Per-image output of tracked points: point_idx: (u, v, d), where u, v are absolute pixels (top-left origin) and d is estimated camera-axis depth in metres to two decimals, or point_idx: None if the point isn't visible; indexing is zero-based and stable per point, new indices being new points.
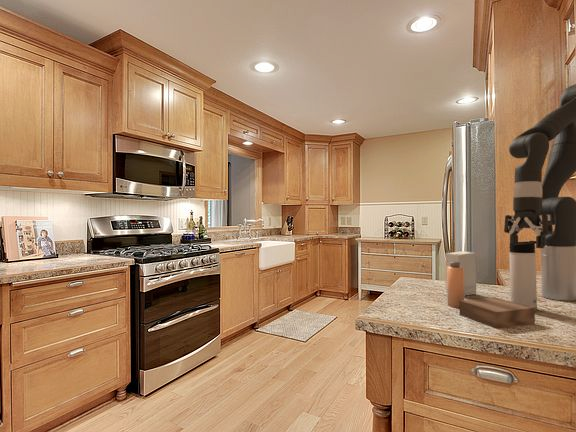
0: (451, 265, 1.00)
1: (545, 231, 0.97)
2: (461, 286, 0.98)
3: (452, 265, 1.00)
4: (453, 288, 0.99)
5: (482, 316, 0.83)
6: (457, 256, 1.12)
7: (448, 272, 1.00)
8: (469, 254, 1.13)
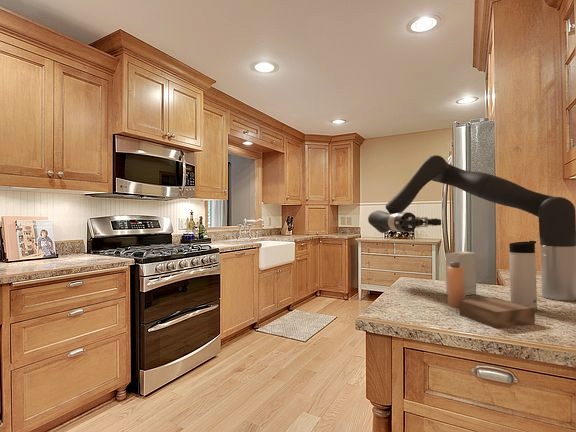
0: (451, 265, 1.00)
1: (403, 226, 1.15)
2: (461, 286, 0.98)
3: (452, 265, 1.00)
4: (453, 288, 0.99)
5: (482, 316, 0.83)
6: (457, 256, 1.12)
7: (448, 272, 1.00)
8: (469, 254, 1.13)
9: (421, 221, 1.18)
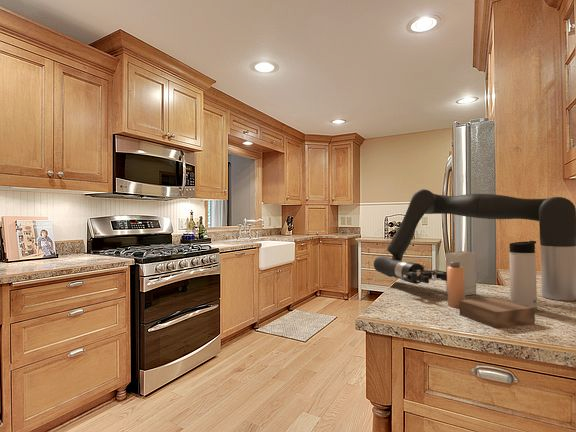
0: (451, 265, 1.00)
1: None
2: (461, 286, 0.98)
3: (452, 265, 1.00)
4: (453, 288, 0.99)
5: (482, 316, 0.83)
6: (457, 256, 1.12)
7: (448, 272, 1.00)
8: (469, 254, 1.13)
9: (430, 275, 1.14)
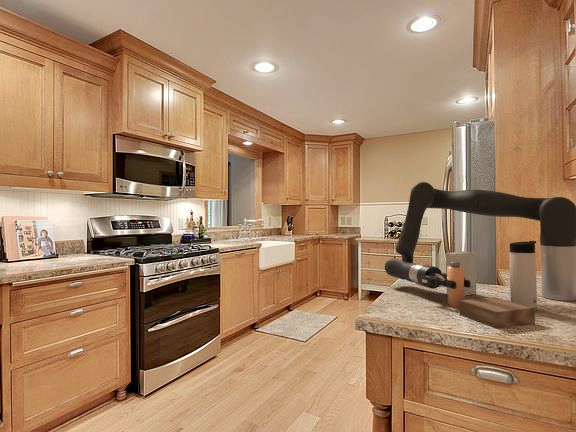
0: (451, 265, 1.00)
1: None
2: (461, 286, 0.98)
3: (452, 265, 1.00)
4: None
5: (482, 316, 0.83)
6: (457, 256, 1.12)
7: (448, 272, 1.00)
8: (469, 254, 1.13)
9: (446, 279, 1.05)
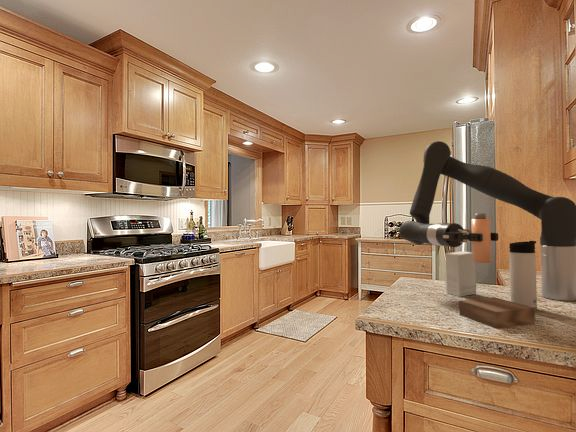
0: (476, 217, 0.91)
1: (459, 241, 0.92)
2: (488, 238, 0.89)
3: (477, 216, 0.90)
4: None
5: (482, 316, 0.83)
6: (457, 256, 1.12)
7: (473, 224, 0.90)
8: (469, 254, 1.13)
9: None
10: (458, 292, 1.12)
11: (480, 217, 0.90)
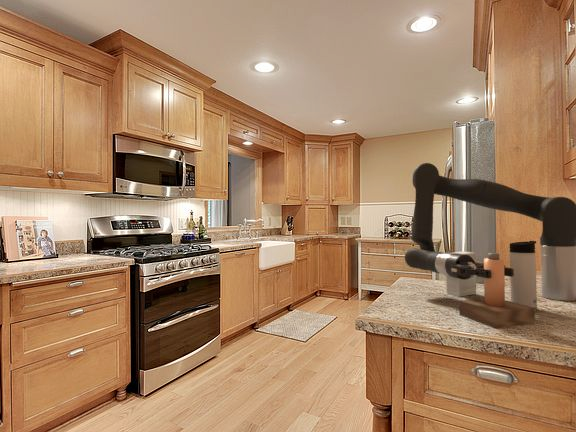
0: (489, 257, 0.86)
1: (466, 276, 0.88)
2: (502, 281, 0.85)
3: (491, 257, 0.86)
4: (492, 283, 0.85)
5: (482, 316, 0.83)
6: None
7: (486, 265, 0.86)
8: (469, 254, 1.13)
9: (483, 268, 0.91)
10: (458, 292, 1.12)
11: (493, 258, 0.86)
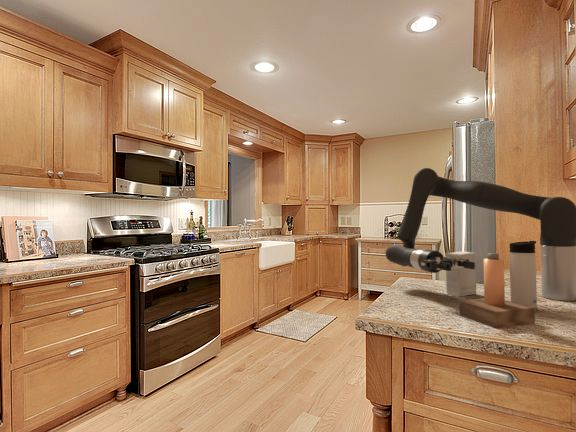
0: (489, 257, 0.87)
1: (431, 269, 1.01)
2: (502, 281, 0.85)
3: (490, 257, 0.86)
4: (492, 283, 0.85)
5: (482, 316, 0.83)
6: (457, 256, 1.12)
7: (485, 265, 0.87)
8: (469, 254, 1.13)
9: (450, 262, 1.04)
10: (458, 292, 1.12)
11: (493, 258, 0.86)
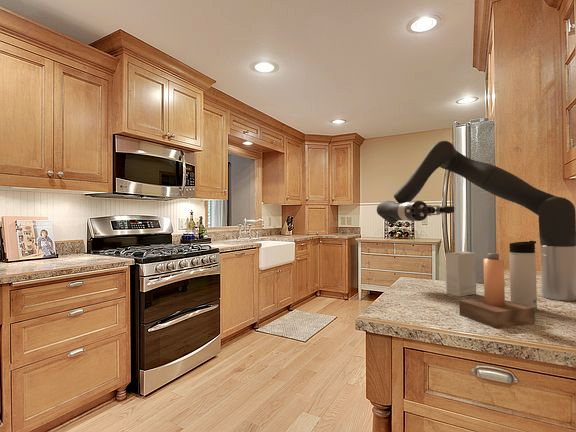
0: (489, 257, 0.87)
1: (415, 214, 1.11)
2: (502, 281, 0.85)
3: (490, 257, 0.86)
4: (492, 283, 0.85)
5: (482, 316, 0.83)
6: (457, 256, 1.12)
7: (485, 265, 0.87)
8: (469, 254, 1.13)
9: (433, 209, 1.14)
10: (458, 292, 1.12)
11: (493, 258, 0.86)
